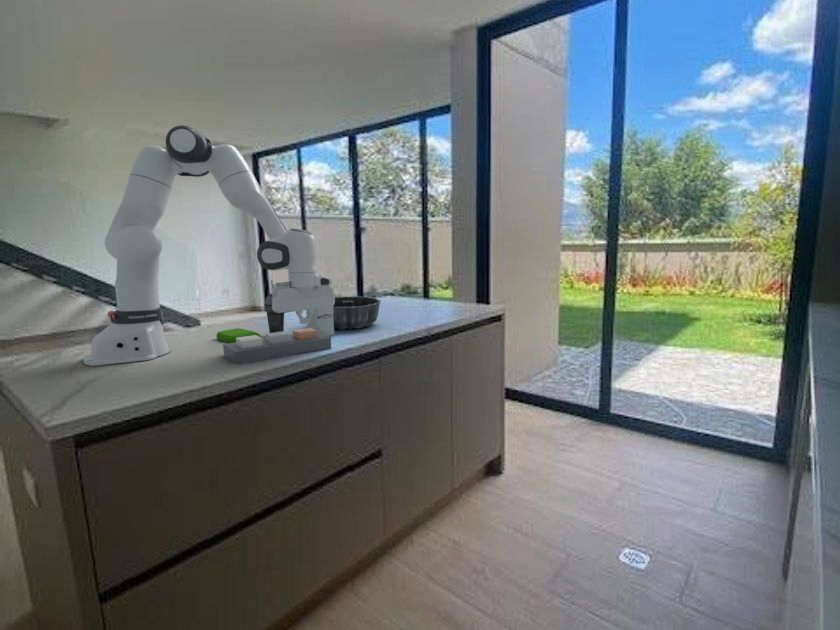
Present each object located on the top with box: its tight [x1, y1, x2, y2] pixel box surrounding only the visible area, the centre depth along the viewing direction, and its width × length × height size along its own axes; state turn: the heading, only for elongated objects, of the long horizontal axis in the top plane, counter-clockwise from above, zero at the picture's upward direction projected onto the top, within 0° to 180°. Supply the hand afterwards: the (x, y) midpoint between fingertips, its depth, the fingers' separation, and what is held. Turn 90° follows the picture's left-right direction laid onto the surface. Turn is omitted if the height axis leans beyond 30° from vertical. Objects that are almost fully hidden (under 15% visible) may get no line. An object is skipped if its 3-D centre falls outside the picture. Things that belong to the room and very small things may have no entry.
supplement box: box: [305, 307, 335, 337], centre depth 171 cm, size 7×7×13 cm
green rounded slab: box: [216, 327, 264, 344], centre depth 162 cm, size 3×11×24 cm
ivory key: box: [236, 335, 263, 349], centre depth 142 cm, size 6×6×3 cm
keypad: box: [222, 333, 332, 365], centre depth 148 cm, size 30×12×4 cm, turn 128°
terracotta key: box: [292, 327, 318, 340], centre depth 153 cm, size 6×6×3 cm
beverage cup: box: [264, 280, 285, 333], centre depth 169 cm, size 7×7×20 cm
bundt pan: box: [333, 296, 382, 330], centre depth 189 cm, size 26×26×10 cm
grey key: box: [264, 331, 292, 344], centre depth 148 cm, size 6×6×3 cm
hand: (305, 323), depth 152 cm, fingers closed
